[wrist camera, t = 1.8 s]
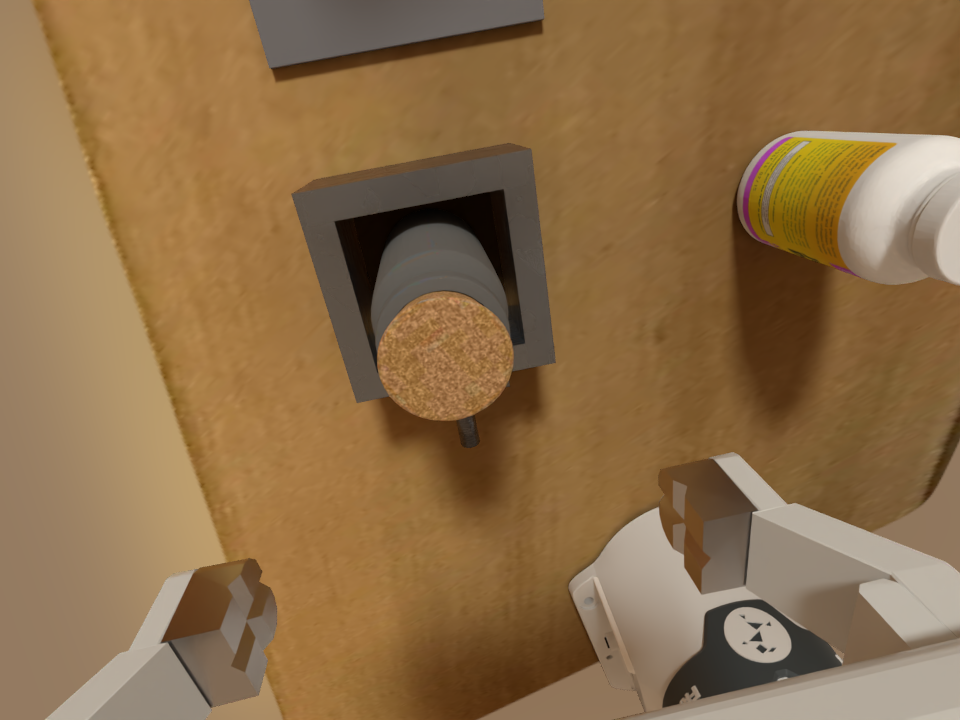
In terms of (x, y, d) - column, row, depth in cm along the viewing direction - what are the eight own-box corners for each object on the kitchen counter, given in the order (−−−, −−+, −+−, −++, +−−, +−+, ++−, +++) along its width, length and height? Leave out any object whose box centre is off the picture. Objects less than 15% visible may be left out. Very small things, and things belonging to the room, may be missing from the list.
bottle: (407, 317, 33) (402, 457, 19) (366, 229, 30) (328, 319, 17) (494, 283, 32) (551, 402, 19) (461, 191, 30) (499, 253, 16)
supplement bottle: (726, 249, 33) (893, 320, 22) (737, 138, 30) (935, 150, 19) (826, 235, 34) (1042, 297, 22) (845, 123, 31) (1105, 127, 19)
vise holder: (543, 402, 36) (565, 451, 31) (388, 433, 36) (383, 489, 31) (509, 143, 29) (531, 148, 24) (314, 179, 29) (291, 194, 23)
